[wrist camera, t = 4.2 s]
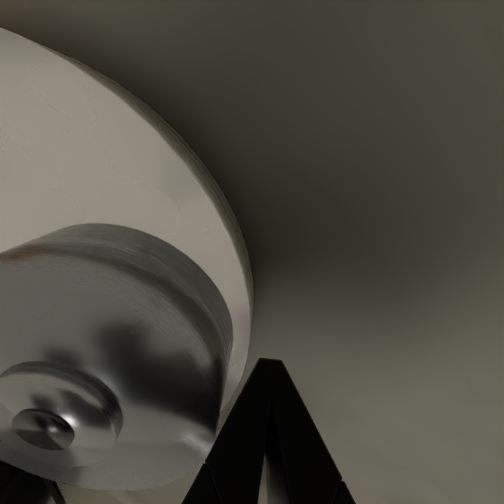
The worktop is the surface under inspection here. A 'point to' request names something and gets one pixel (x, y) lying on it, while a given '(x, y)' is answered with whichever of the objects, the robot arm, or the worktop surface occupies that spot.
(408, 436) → the worktop surface
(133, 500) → the worktop surface
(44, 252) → the cover
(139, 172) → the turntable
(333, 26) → the worktop surface
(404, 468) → the worktop surface
